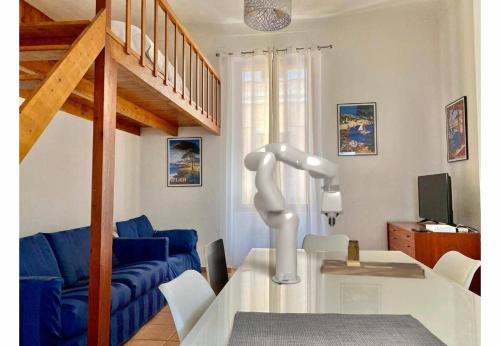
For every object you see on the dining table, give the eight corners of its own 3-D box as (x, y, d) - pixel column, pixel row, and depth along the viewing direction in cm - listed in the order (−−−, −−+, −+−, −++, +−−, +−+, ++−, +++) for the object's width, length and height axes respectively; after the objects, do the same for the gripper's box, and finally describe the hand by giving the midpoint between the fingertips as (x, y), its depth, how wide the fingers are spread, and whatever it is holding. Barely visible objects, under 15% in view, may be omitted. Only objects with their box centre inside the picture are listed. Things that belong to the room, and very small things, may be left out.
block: (360, 274, 178) (360, 263, 178) (347, 273, 179) (347, 263, 180) (359, 271, 184) (359, 261, 184) (346, 270, 185) (346, 260, 185)
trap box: (424, 278, 169) (424, 269, 169) (321, 273, 179) (321, 264, 179) (418, 272, 181) (418, 263, 181) (322, 267, 191) (322, 259, 191)
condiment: (352, 260, 208) (352, 239, 209) (365, 263, 202) (365, 240, 202) (344, 262, 204) (344, 240, 204) (357, 265, 197) (357, 242, 197)
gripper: (315, 189, 183) (316, 226, 182) (347, 189, 180) (348, 227, 179) (316, 188, 190) (316, 224, 190) (347, 188, 187) (347, 225, 186)
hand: (331, 226), depth 184 cm, fingers closed
